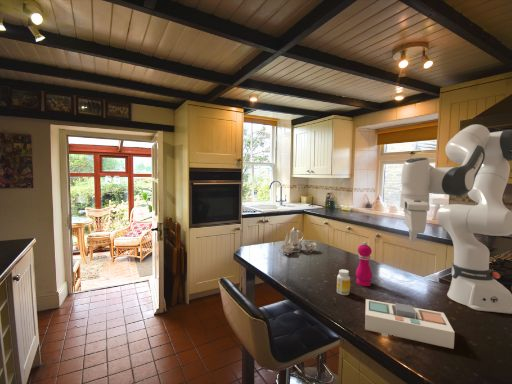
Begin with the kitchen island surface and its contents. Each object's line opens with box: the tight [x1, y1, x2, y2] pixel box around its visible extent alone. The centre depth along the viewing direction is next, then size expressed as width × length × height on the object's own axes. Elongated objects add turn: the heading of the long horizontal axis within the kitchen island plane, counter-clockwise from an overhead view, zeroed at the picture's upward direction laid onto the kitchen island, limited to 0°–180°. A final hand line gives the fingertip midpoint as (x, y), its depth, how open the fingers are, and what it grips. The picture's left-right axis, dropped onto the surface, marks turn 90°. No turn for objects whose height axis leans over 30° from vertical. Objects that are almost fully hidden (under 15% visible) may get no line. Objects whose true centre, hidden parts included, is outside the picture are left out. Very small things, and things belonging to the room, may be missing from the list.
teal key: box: [370, 303, 387, 314], centre depth 91 cm, size 5×5×3 cm
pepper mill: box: [355, 241, 373, 287], centre depth 123 cm, size 7×7×20 cm
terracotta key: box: [422, 312, 445, 325], centre depth 84 cm, size 5×5×3 cm
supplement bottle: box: [336, 269, 351, 296], centre depth 113 cm, size 5×5×10 cm
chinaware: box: [278, 226, 318, 255], centre depth 174 cm, size 28×17×17 cm, turn 120°
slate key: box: [394, 302, 415, 319], centre depth 87 cm, size 5×5×3 cm
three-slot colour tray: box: [364, 298, 456, 350], centre depth 87 cm, size 24×12×5 cm, turn 67°
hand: (412, 240), depth 95 cm, fingers closed
